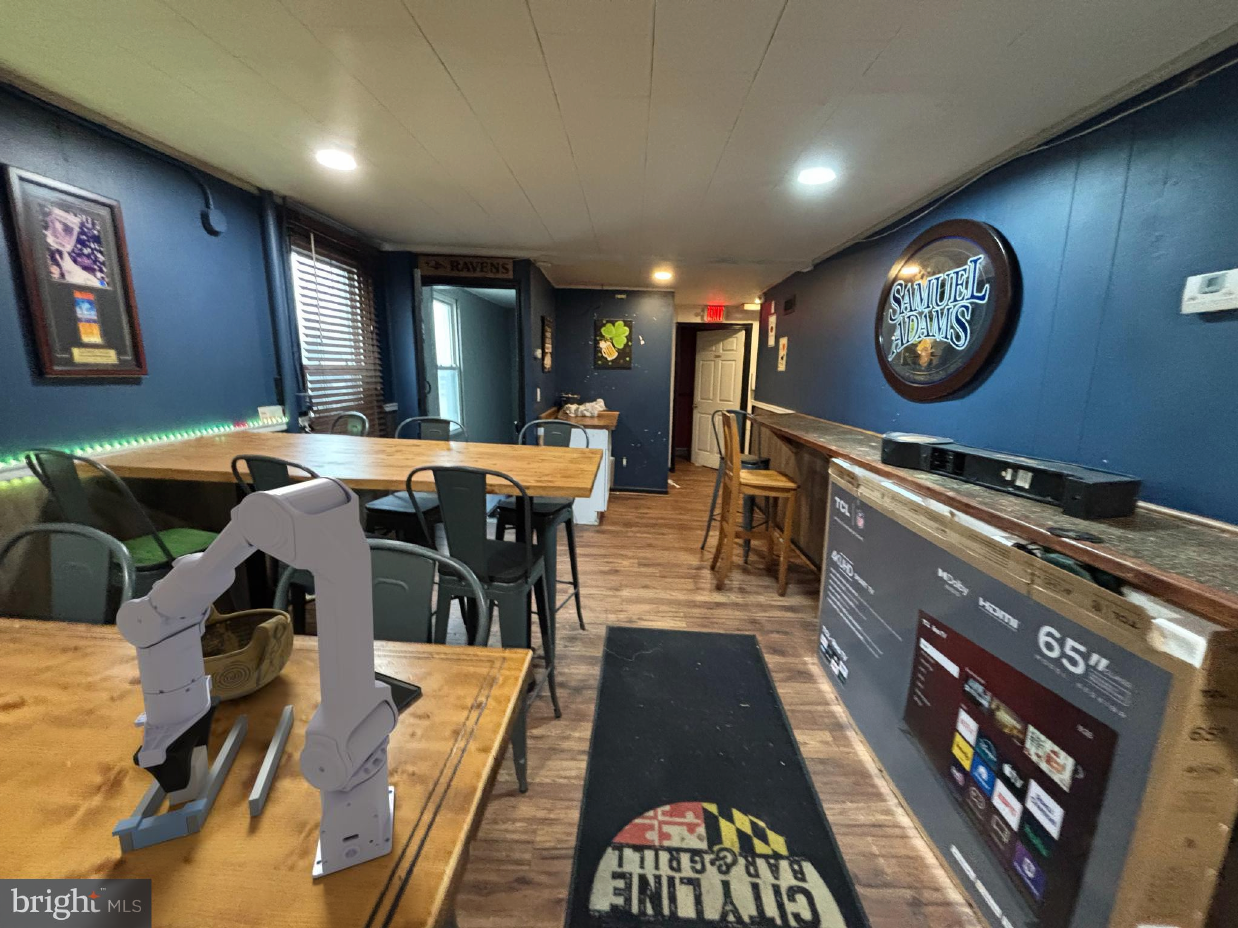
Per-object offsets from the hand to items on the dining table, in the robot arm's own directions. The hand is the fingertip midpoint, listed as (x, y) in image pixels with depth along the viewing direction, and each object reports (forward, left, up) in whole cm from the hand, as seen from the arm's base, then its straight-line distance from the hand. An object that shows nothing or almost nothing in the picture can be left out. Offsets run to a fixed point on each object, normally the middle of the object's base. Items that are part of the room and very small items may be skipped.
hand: (187, 771), depth 60 cm
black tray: (+13, -21, -3) cm, 25 cm away
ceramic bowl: (+22, +1, -3) cm, 23 cm away
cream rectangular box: (0, 0, -3) cm, 3 cm away
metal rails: (+2, -3, -3) cm, 4 cm away
